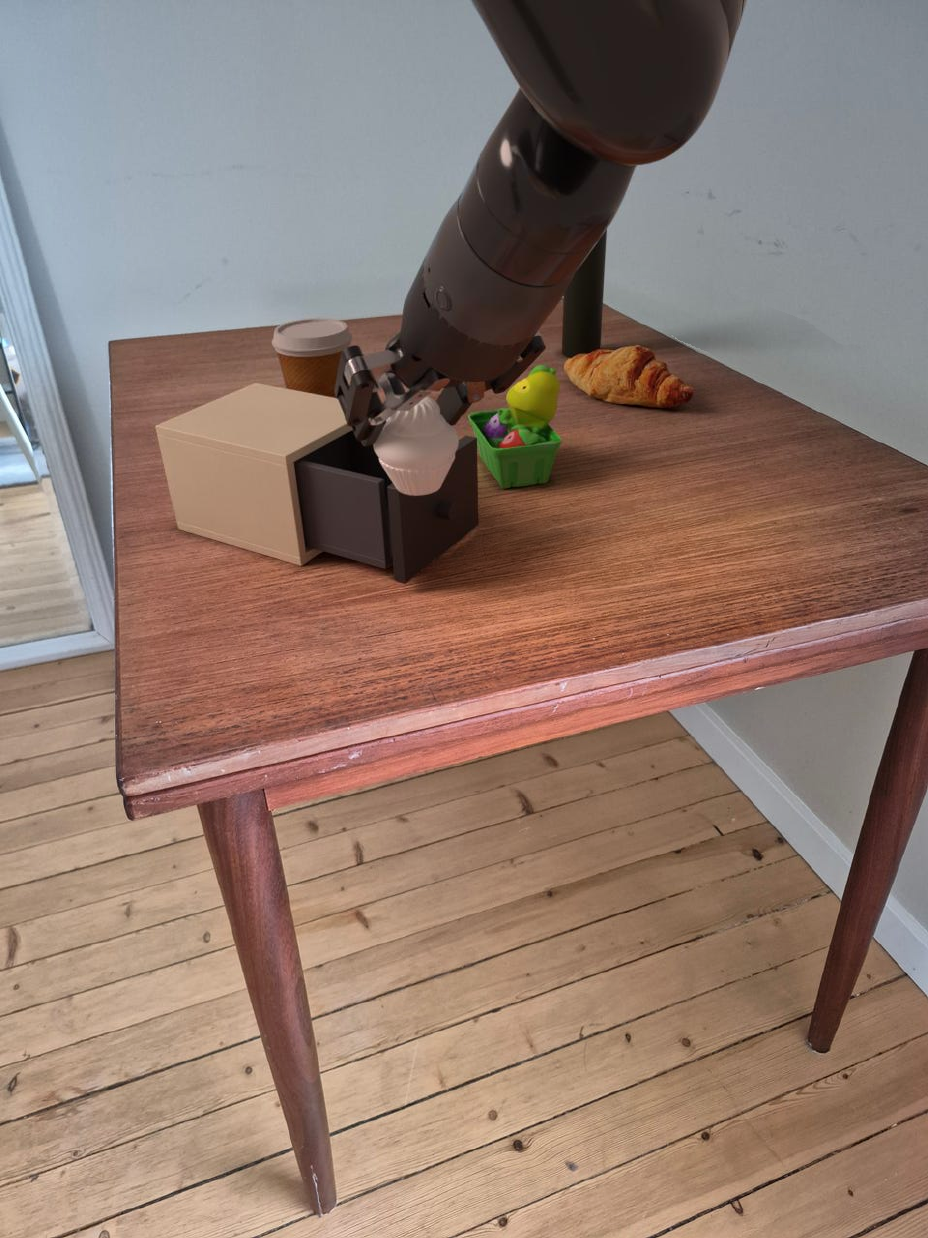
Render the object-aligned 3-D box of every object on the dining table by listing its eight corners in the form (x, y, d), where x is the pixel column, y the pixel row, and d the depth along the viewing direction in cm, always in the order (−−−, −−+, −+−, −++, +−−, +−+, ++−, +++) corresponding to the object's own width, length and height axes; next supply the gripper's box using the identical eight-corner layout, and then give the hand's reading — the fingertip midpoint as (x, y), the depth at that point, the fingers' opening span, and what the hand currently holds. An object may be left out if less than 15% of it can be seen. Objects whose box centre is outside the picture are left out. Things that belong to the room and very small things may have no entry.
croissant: (550, 406, 126) (532, 361, 120) (593, 358, 128) (577, 312, 122) (676, 442, 112) (662, 394, 106) (720, 388, 115) (709, 338, 109)
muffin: (473, 476, 67) (471, 384, 63) (439, 510, 62) (435, 413, 59) (399, 465, 69) (393, 376, 66) (361, 497, 65) (352, 402, 61)
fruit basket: (466, 455, 103) (464, 357, 97) (539, 446, 105) (542, 349, 99) (493, 496, 94) (492, 390, 88) (573, 485, 95) (578, 381, 89)
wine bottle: (559, 348, 137) (565, 125, 121) (596, 346, 138) (608, 123, 121) (564, 359, 132) (572, 128, 116) (603, 357, 133) (616, 127, 116)
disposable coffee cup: (270, 424, 113) (255, 327, 107) (334, 406, 118) (324, 313, 112) (308, 445, 107) (295, 344, 100) (375, 425, 112) (366, 328, 105)
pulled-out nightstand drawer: (489, 527, 86) (488, 439, 81) (417, 587, 77) (411, 492, 72) (356, 494, 93) (348, 411, 88) (275, 546, 84) (261, 456, 79)
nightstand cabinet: (387, 507, 92) (379, 406, 86) (301, 566, 82) (285, 456, 76) (270, 478, 99) (255, 382, 93) (177, 529, 89) (154, 425, 83)
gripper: (567, 210, 53) (469, 361, 68) (346, 239, 47) (292, 397, 62) (618, 320, 52) (507, 449, 67) (399, 364, 46) (330, 494, 61)
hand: (404, 423), depth 65 cm, fingers closed on muffin, 6 cm apart
